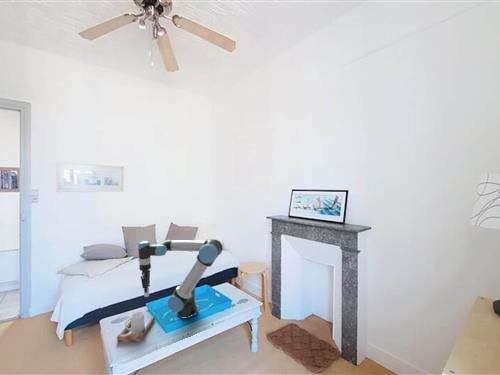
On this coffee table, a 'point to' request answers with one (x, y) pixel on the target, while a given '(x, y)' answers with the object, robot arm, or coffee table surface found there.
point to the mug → (137, 323)
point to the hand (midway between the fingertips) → (146, 296)
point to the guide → (134, 337)
